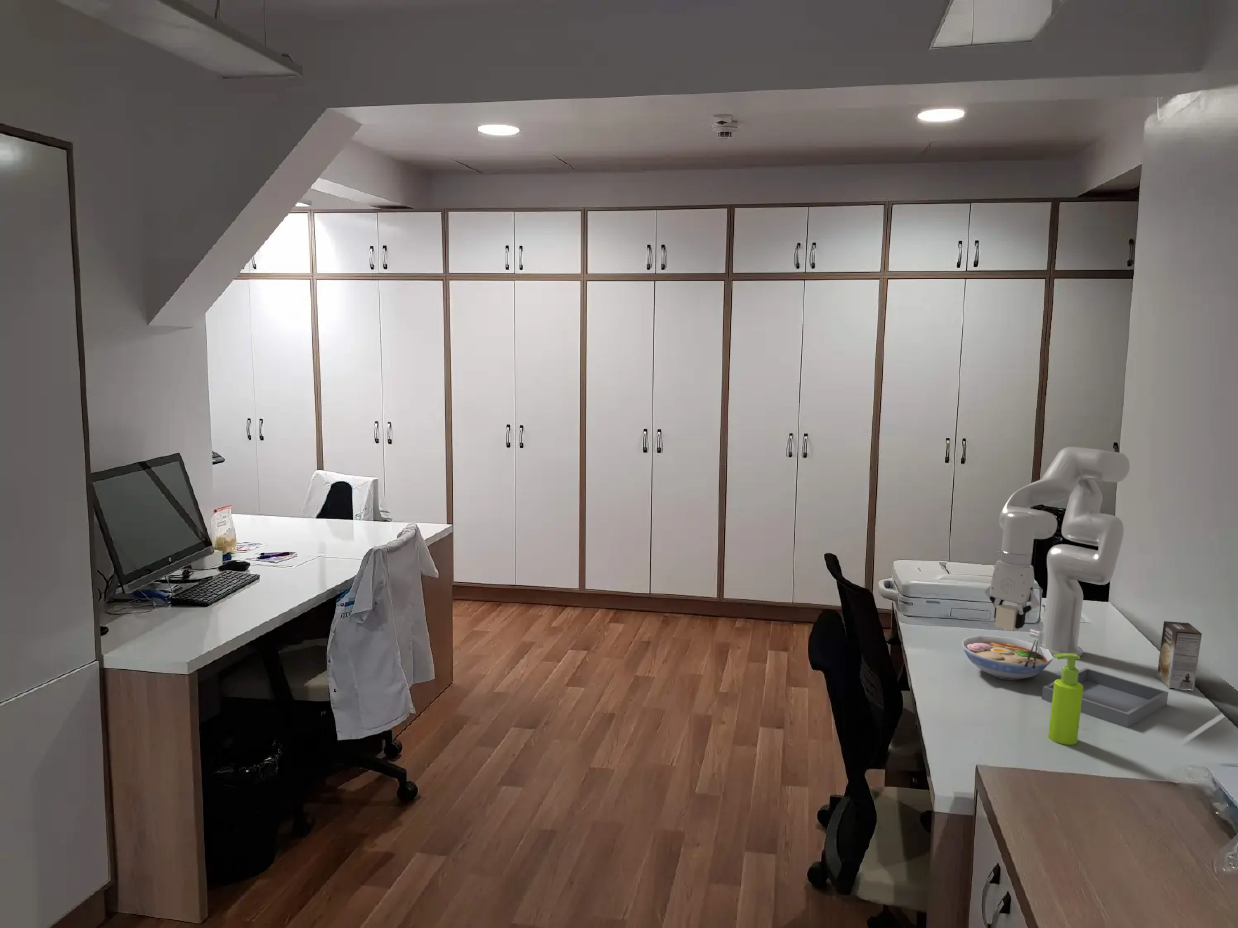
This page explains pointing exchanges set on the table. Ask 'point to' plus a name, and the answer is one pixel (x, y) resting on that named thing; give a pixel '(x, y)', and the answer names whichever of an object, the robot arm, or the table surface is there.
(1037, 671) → the ramen bowl
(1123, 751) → the table surface
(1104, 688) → the parts tray
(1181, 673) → the coffee box
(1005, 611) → the tan wooden cube
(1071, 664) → the soap dispenser
